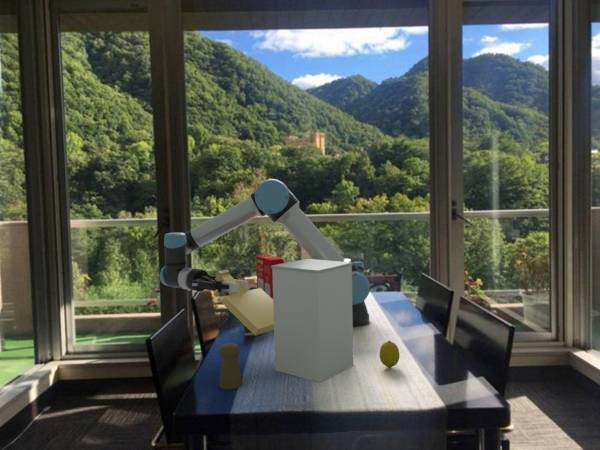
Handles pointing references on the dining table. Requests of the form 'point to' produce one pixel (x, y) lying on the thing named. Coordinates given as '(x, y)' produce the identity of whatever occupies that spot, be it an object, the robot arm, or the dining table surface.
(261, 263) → the food packaging
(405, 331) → the dining table surface
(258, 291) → the paddle
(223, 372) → the cork
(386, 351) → the lemon
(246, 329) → the food container
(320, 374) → the tall white upright box
